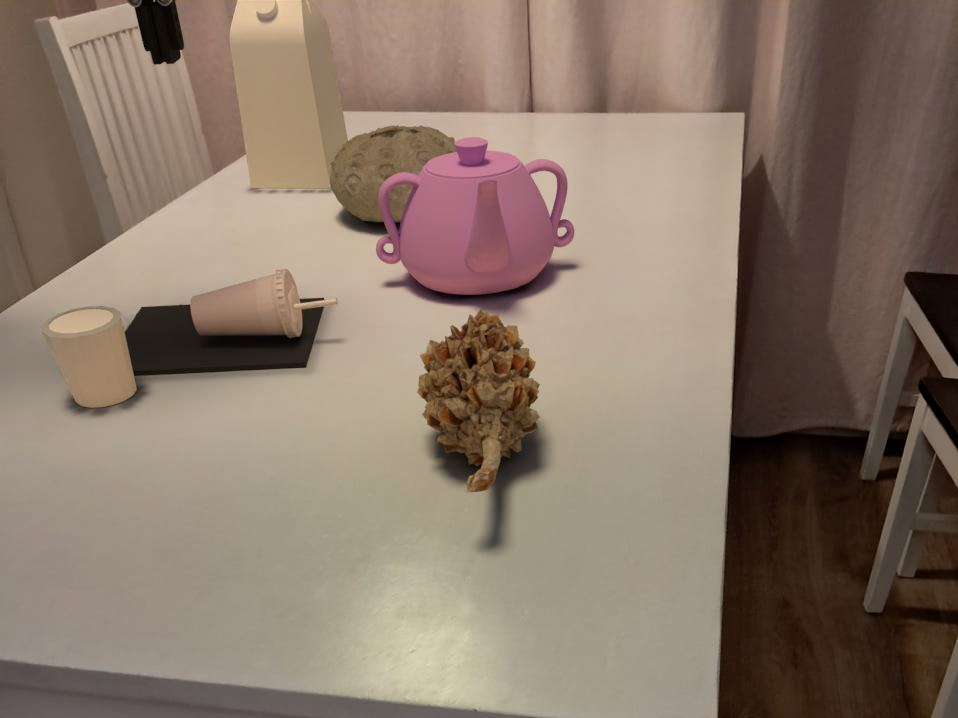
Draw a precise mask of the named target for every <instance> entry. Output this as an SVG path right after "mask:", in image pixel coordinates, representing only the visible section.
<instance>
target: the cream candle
mask: <svg viewBox="0 0 958 718" xmlns="http://www.w3.org/2000/svg"><path fill="white" fill-rule="evenodd" d="M41 333H42V335H43V337H44V340H45V341H46V343H47V347H48V348H49V350H50V352H51V354H52V356H53V358H54V360H55V362H56V364H57V367H58V368H59V371H60V372H61V374H62V377H63V379H64V382H65V383H66V385H67V387H68V389H69V391H70V393H71V396H72V397H73V399H74V401H75V403H76V404H77V405H79V406H81V407H85V408H90V409H91V408H93V409H95V408H105V407H111V406H115V405H118V404H120V403H123V402H125V401H127V400H128V399H130V398H131V397H133V396H134V395H135V394H136V392H137V391H138V388H137V383H136V378H135V375H134V374H133V369H132V365H131V360H130V355H129V351H128V346H127V341H126V337H125V328H124V324H123V319H122V314H121V311H120V310H118V309H116V308H114V307H111V306H103V305H101V306H100V305H97V306H96V305H95V306H93V305H92V306H83V307H78V308H72V309H69V310H66V311H63V312H60V313H57V314H55V315H53V316H51V317H49V318H48V319H46V320H45V321H44V323H42V325H41Z"/></svg>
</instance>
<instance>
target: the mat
mask: <svg viewBox="0 0 958 718" xmlns="http://www.w3.org/2000/svg"><path fill="white" fill-rule="evenodd" d="M299 299H300V303H307V302H314V301H322V300H325V297H309V298H306V297H305V298H299ZM323 309H324V306H323V307H315V308H308V309H301V311H302V333H301V335H300V336H299V337H293V338H288V337H287V335H225V336H201V335H200V334H199V333H198V332H197V330H196V328H195V325H194V323H193V319H192V315H191V307H190V303H189V304H171V305H170V304H169V305H153V306H152V305H151V306H141V307H140V308H139V310H138V311H137V313H136V315H135V316H134V318H133V319H132V321H131V322H130V324H129V325H128V326H127V328H126V330H124V332H125V337H126V341H127V346H128V351H129V355H130V360H131V365H132V369H133V374H134V376H147V375H148V376H149V375H169V374H171V375H172V374H185V373H186V374H188V373H189V374H190V373H208V372H227V371H228V372H229V371H230V372H231V371H250V370H251V371H252V370H269V369H271V370H272V369H291V368H306V367H307V364H308V359H309V356H310V353H311V350H312V347H313V343H314V340H315V337H316V333H317V330H318V326H319V322H320V319H321V316H322V312H323Z"/></svg>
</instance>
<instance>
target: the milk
mask: <svg viewBox="0 0 958 718" xmlns="http://www.w3.org/2000/svg"><path fill="white" fill-rule="evenodd" d="M327 21H328V20H327V19H326V17H325V14H324V12H323V11H322V9H321V8H320V6H319V5H318V3H317V2H316V0H237V1H236V5H235V9H234V12H233V16H232V20H231V24H230V29H229V46H230V47H229V49H230V56H231V63H232V68H233V69H232V70H233V75H234V82H235V90H236V96H237V102H238V108H239V109H238V110H239V117H240V122H241V123H240V124H241V129H242V137H243V143H244V151H245V156H246V157H245V158H246V164H247V171H248V178H249V184H250V185H249V186H250V189H332V188H331V185H330V172H331V162H332V161H333V160H334V158H335V156H336V155H337V153H338V150H339V149H340V148H341V147H342V145H343V144H345V143H346V142H348V141H349V137H348V133H347V127H346V121H345V116H344V109H343V104H342V99H341V92H340V87H339V80H338V73H337V69H336V62H335V57H334V52H333V47H332V46H333V45H332V41H331V33H330V29H329V25H328V22H327Z"/></svg>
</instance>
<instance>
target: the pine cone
mask: <svg viewBox="0 0 958 718" xmlns="http://www.w3.org/2000/svg"><path fill="white" fill-rule="evenodd" d="M449 328H450V332H451V334H450V335H449V336H447V335H445V336H444V339H445V340H441V341H440V342H438V341H436V340H433V339H429V340H428V344H427V346H426V350H425V352H424V353H421V354H419V357H420V359H421V361H422V363H423V365H424V366H423V368H424V370H425V371H426V373H423V374H420V375H419V376H418V384H417V386H418V389H417V391H416V393H417V394H418V395H419V396H420V398H422V399H423V400H425V402H426V403H425V406H424V408H425V410H424V411H423V412H422V414H421V415H422V416H423V417H424V419H425V420H426V425H427V426H429V427H430V428H433V429H434V430H436V431H439V432H440V433H439V434H438V435H437V442H438V443H441V444H442V445H443V448H444V450H445V453H446V454H448V453H455V452H457V453H459V454H462V453H463V454H464V455H465V456H466V457H467V462H468V465H474V466H476V467H479V466H480V465H481V467H480V468H479V469H478V470H477V471H476V472H475V473H474V474H471V475H469V476H468V479H467V480H466V481H467V482H466V488H465V489H466V493H477V492H478V493H479V492H484V491H487V490H488V489H490V488H491V487H492V486H493V485H494V484H495V483H496V479H497V474H498V471H499V467H500V463H501V459H502V457H505V458H507V459H510V458H511V450H513V451H514V452H516V453H520V452H521V451H522V450H523V446H522V442H521V441H522V438H525V437H526V435H529V434H532V433H534V432H536V430H537V429H538V428H539V427H538V424H537V423H538V422H537V421H538V420H539V419H540V418H541V417H540V415H539V412H538V411H537V410H535V409H533V408H531V406H532V405H533V404H534V403H535V402H537V400H538V398H539V396H538V394H539V393H540V390H539V387H540V383H539V382H538V381H536V380H535V379H534V377H530V376H531V372H533V370H534V369H535V367H536V363H537V361H536V360H534V359H533V358H531V357H530V348H528V347H523V345H524V344H525V342H524V340H523V339H521V338H520V333H519V329H518V328H519V327H518V325H515V324H509V325H506V326H505V325H504V323H503V322H502V321H501V318H500V314H498V313H496V312H495V313H491V314H489V312H488V311H486V310H484V309H481V308H480V309H479V310H478V311H477V313H476V315H475V316H473V315H472V314H471V313H469V315H468V319H467V321H466V323H463V325H461V326H460V328H461V330H459V328H458V327H456V326H454V325H453V324H451V325H449Z"/></svg>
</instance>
